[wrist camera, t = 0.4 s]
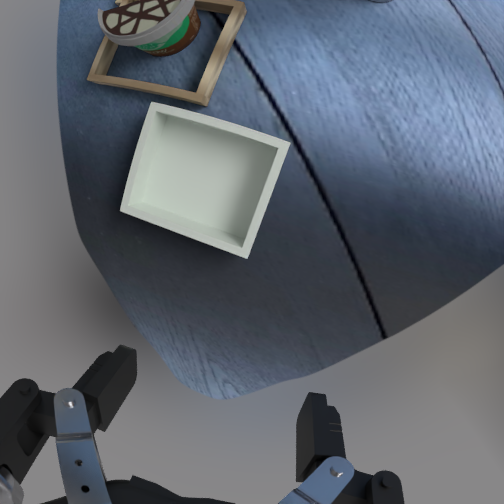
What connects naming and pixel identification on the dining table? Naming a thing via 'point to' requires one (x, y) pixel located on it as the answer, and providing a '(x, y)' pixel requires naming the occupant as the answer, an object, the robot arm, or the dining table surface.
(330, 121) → the dining table surface
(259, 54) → the dining table surface
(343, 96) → the dining table surface
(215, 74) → the bin frame
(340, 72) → the dining table surface
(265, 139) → the bin
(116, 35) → the food container
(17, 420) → the robot arm
